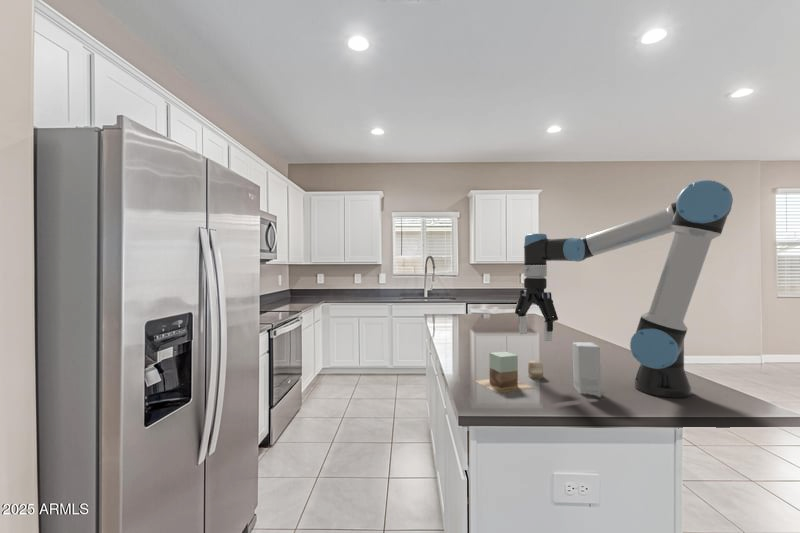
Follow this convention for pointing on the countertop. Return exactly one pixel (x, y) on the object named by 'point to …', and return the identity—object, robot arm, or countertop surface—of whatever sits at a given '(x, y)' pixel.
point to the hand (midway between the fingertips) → (534, 337)
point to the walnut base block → (503, 378)
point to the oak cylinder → (535, 369)
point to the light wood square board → (499, 390)
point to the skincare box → (586, 368)
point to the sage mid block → (503, 361)
